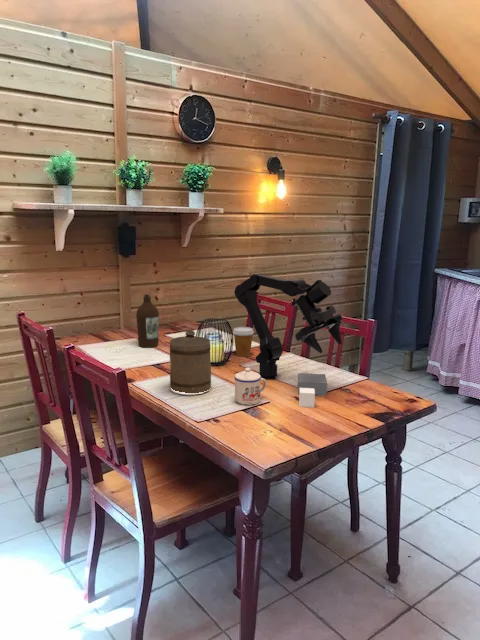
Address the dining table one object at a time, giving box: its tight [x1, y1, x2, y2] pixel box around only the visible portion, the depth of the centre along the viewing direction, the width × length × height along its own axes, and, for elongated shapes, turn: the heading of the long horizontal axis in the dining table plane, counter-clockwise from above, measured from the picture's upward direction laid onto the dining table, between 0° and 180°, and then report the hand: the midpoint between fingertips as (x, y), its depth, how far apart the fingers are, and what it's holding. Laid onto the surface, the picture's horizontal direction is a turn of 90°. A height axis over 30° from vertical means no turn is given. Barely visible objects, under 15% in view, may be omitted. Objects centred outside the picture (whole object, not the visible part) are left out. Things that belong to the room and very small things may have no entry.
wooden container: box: [169, 329, 212, 393], centre depth 180 cm, size 15×15×22 cm
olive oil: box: [135, 293, 160, 349], centre depth 237 cm, size 11×11×25 cm
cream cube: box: [298, 388, 316, 408], centre depth 168 cm, size 5×5×5 cm
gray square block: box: [297, 372, 328, 397], centre depth 181 cm, size 10×10×5 cm
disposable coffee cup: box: [232, 326, 255, 358], centre depth 225 cm, size 10×10×12 cm
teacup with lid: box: [234, 367, 267, 406], centre depth 170 cm, size 12×9×12 cm
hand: (331, 348), depth 174 cm, fingers open, 9 cm apart
